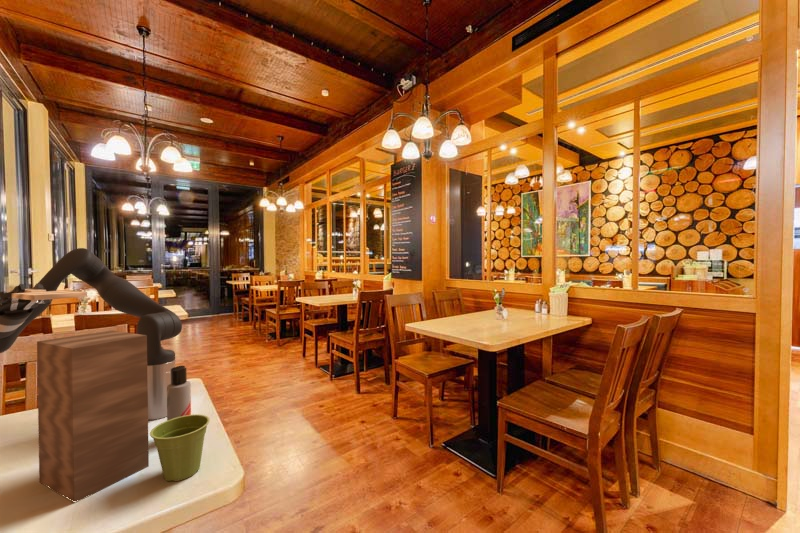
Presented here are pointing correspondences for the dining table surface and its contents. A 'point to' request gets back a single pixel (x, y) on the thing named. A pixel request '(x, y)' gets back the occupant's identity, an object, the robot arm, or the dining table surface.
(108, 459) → the walnut plinth
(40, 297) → the tan stepped slab
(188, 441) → the plant pot
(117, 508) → the dining table surface
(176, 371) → the lotion bottle
